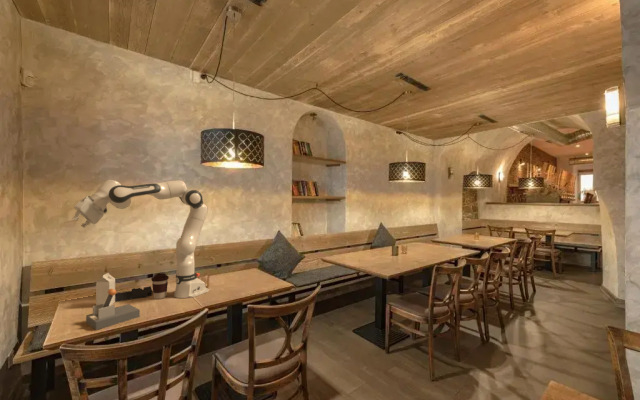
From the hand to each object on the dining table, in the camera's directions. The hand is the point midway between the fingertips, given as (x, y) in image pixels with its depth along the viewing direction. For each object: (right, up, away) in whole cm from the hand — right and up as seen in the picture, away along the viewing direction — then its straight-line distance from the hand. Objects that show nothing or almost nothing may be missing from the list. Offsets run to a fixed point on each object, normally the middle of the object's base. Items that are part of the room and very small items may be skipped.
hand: (78, 223), depth 161 cm
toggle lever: (+19, -46, -6) cm, 50 cm away
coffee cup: (+27, -52, +32) cm, 67 cm away
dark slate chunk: (+8, -52, +34) cm, 63 cm away
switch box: (+21, -52, -3) cm, 56 cm away
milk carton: (+1, -51, +18) cm, 55 cm away
